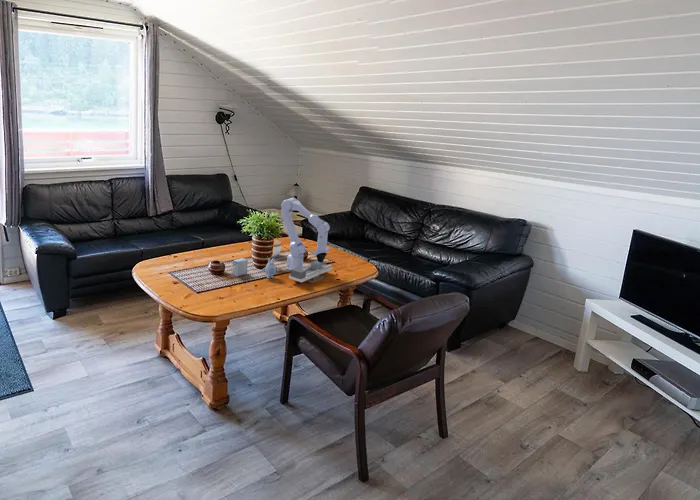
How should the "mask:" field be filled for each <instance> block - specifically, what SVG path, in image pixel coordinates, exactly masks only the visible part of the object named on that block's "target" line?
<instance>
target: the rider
mask: <svg viewBox="0 0 700 500" xmlns="http://www.w3.org/2000/svg"><path fill="white" fill-rule="evenodd" d="M310 266H311V269H313V270H317V269H321V268H322V262H319V261H318V260H315V261H311V265H310Z"/></svg>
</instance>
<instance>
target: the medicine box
mask: <svg viewBox="0 0 700 500" xmlns="http://www.w3.org/2000/svg"><path fill="white" fill-rule="evenodd" d="M248 261H249V260H248V259H246V258H244V257H242V258H237V259H233V260H232V266H231V267H232V270H231V275H233V276H235V277H240V276H244V275H247V274H248V266H249V265H248V264H249V263H248Z"/></svg>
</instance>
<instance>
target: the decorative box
mask: <svg viewBox="0 0 700 500" xmlns="http://www.w3.org/2000/svg"><path fill="white" fill-rule="evenodd" d="M281 248H282V241H281V240H278V239H274V245H273V255H272V257H271V258H275V257H277V256H278V255H279V254H280V252H281Z"/></svg>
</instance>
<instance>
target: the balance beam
mask: <svg viewBox="0 0 700 500" xmlns="http://www.w3.org/2000/svg"><path fill="white" fill-rule="evenodd" d="M332 270H333V266H332V264H324V262H323V263H322V268H321V269H317V270H313V269H311V265H310V266H307V267H305V269H299V268H294V269H291V270H290V275H288V279H290V280H294V281H296V282H298V283H303V282H308V283H311V284H314V283H316V282H319V281H321V280H324V279H325V276H323V275H322V274H324V273H325V274H326V273H327V272H329V271H332Z"/></svg>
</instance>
